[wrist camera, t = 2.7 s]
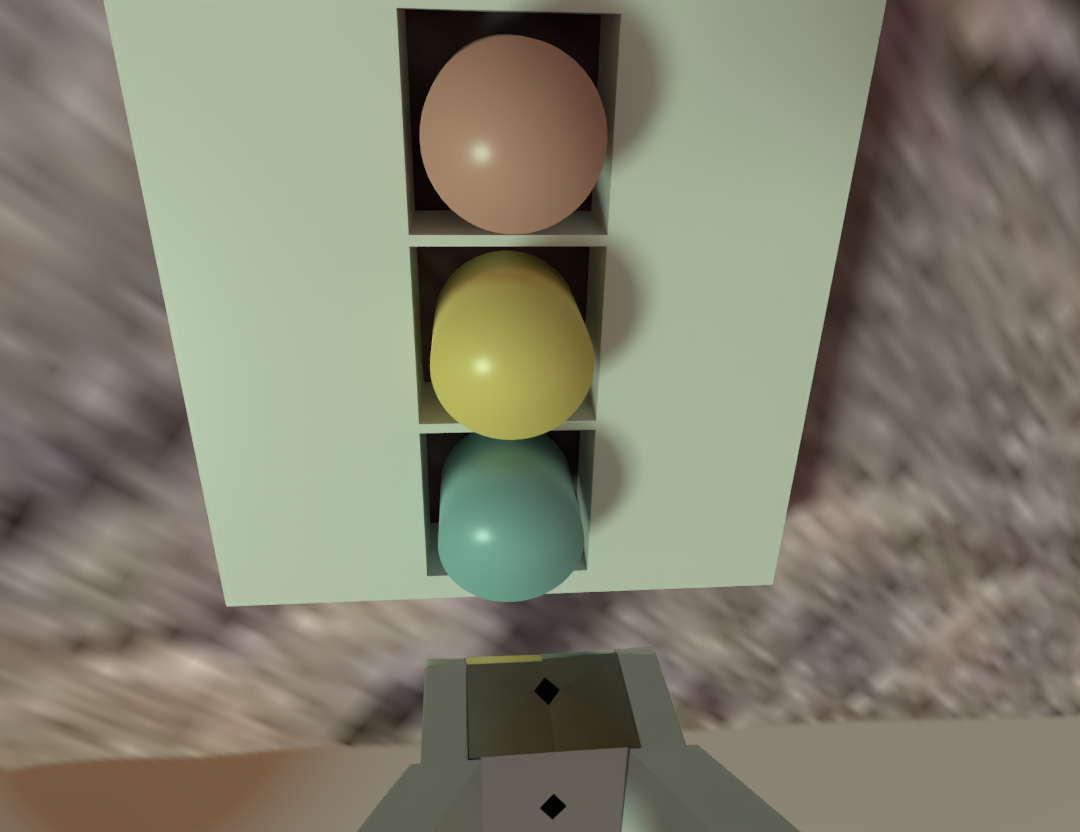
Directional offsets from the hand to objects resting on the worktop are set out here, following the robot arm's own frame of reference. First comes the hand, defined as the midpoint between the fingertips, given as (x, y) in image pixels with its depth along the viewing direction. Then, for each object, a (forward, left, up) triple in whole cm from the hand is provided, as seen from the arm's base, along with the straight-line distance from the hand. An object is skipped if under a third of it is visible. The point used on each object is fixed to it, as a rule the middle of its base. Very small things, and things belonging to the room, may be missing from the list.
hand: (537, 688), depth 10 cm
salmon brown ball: (0, -6, -14) cm, 15 cm away
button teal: (0, +5, -14) cm, 15 cm away
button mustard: (0, 0, -14) cm, 14 cm away
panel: (0, 0, -16) cm, 16 cm away
